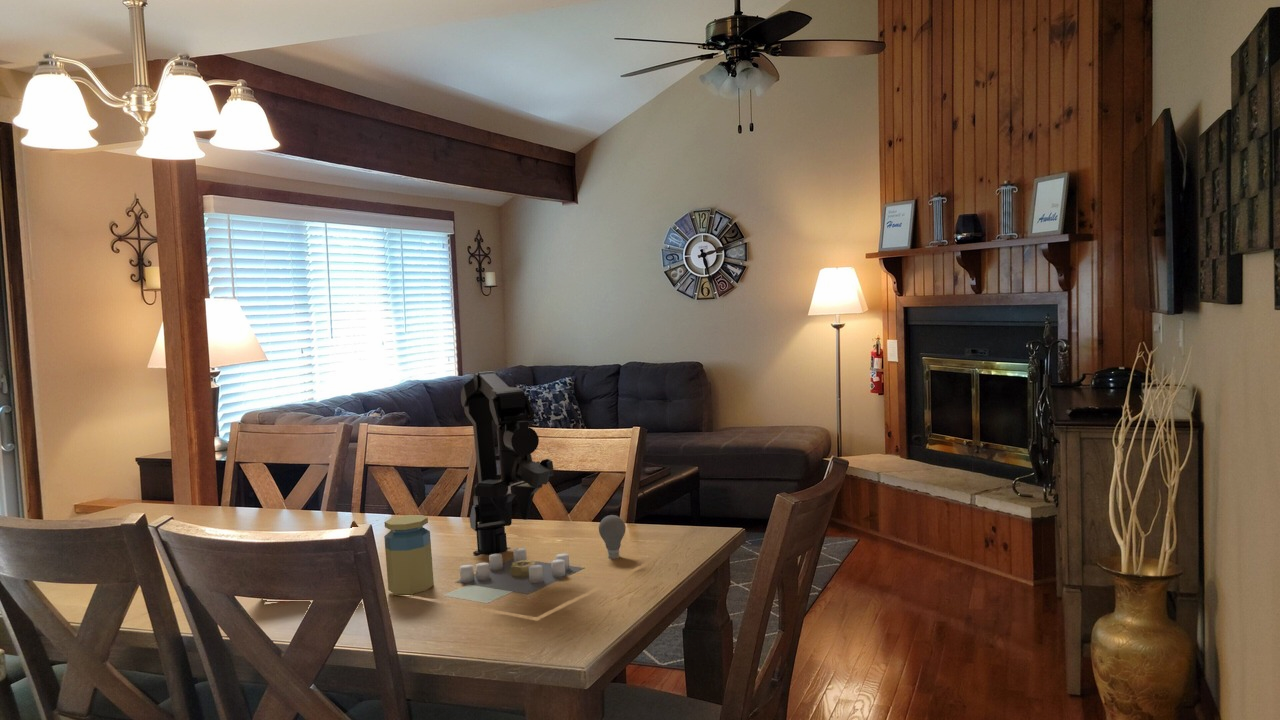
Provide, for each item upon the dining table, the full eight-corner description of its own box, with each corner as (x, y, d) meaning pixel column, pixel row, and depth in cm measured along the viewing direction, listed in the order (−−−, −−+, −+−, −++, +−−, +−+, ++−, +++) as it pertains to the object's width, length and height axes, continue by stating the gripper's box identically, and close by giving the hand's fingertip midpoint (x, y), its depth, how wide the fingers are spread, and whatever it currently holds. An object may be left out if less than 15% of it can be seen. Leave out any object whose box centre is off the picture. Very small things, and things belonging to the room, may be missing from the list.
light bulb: (624, 563, 200) (621, 518, 199) (597, 563, 201) (594, 518, 200) (629, 555, 206) (627, 512, 205) (604, 555, 207) (601, 512, 206)
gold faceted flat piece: (506, 575, 194) (505, 565, 194) (521, 569, 198) (520, 559, 198) (526, 578, 191) (525, 567, 191) (540, 572, 195) (540, 561, 195)
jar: (443, 586, 190) (438, 516, 190) (410, 600, 183) (405, 526, 182) (412, 582, 195) (407, 513, 194) (379, 594, 188) (373, 523, 187)
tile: (442, 598, 183) (442, 595, 183) (468, 587, 189) (468, 584, 189) (486, 606, 176) (486, 603, 176) (512, 594, 182) (512, 591, 182)
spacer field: (454, 585, 191) (453, 568, 191) (514, 560, 207) (513, 545, 207) (527, 597, 180) (526, 579, 180) (585, 570, 196) (584, 554, 196)
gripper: (511, 458, 180) (517, 536, 181) (569, 443, 195) (574, 515, 196) (470, 456, 186) (475, 531, 187) (529, 441, 201) (534, 511, 202)
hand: (517, 522), depth 193 cm, fingers open, 5 cm apart
